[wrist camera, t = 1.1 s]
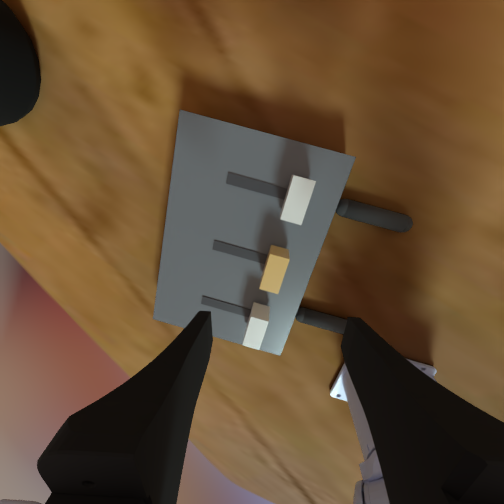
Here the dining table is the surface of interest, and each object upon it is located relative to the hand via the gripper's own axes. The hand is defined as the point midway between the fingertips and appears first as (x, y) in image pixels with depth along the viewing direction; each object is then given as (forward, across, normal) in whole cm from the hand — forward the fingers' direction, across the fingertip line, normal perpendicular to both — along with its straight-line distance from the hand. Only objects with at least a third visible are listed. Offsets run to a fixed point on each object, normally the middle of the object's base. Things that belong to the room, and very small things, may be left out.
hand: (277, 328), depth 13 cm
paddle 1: (+9, +1, +7) cm, 11 cm away
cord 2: (+12, -7, +9) cm, 16 cm away
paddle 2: (+10, -2, -5) cm, 11 cm away
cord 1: (+12, -9, -3) cm, 16 cm away
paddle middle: (+9, 0, +1) cm, 9 cm away
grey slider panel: (+13, +3, 0) cm, 13 cm away
